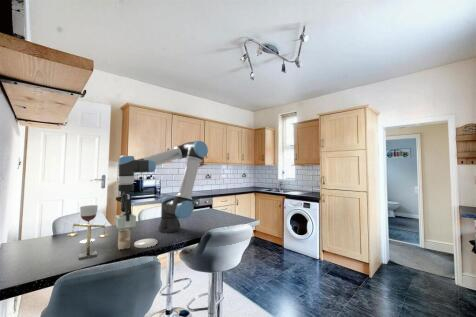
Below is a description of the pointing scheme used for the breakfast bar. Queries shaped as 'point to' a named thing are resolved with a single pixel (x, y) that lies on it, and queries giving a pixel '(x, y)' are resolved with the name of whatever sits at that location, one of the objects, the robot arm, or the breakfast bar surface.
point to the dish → (145, 243)
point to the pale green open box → (121, 221)
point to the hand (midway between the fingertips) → (125, 225)
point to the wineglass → (88, 215)
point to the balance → (88, 240)
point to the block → (123, 239)
